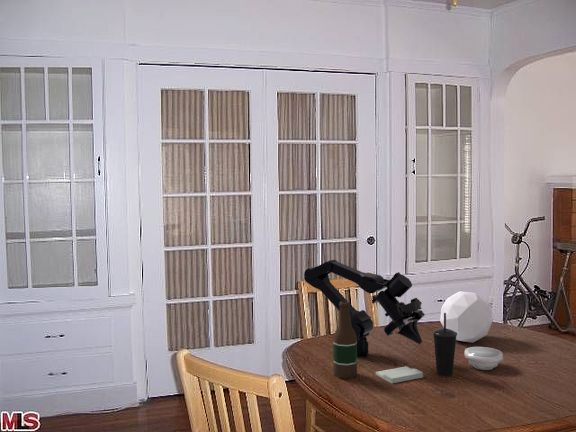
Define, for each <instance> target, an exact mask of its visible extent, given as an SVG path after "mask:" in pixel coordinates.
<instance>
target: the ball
mask: <svg viewBox="0 0 576 432" xmlns="http://www.w3.org/2000/svg"><path fill="white" fill-rule="evenodd" d="M444 313H446V328H447V329H451V330H453V331H455V332H457V336H456V341H460V342H466V343H475V342H477V341H478V340H480V339H482V338H484V337H486V336H487V335H488V333H489V331H490V329H491V326H492V323H493V320H494V318H493V311H492V309H491V307H490V303H488V302H487V301H486V300H485V299H484V298H482V297H481V296H480V295H479V294H478V293H477V292H471V291H462V290H460V291H457V292H456V293H453V295H450V296H448V297H447V298H446V299H445V301H444V303H443V304H442V306H441V310H440V320H439V321H440V323H441V325H442V328H444Z"/></svg>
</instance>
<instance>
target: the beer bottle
mask: <svg viewBox="0 0 576 432" xmlns="http://www.w3.org/2000/svg"><path fill="white" fill-rule="evenodd" d="M350 304H351V302H350V301H348V300H347V301H341V302H340V303H339V306H340V312H339V316H338V318H339V319H338V325H337V328H336V329H335V331H334V334H333V341H332V342H333V343H332V355H333V356H332V358H333V359H332V361H333V362H332V364H333V366H332V367H333V376H335V377H337V378H339V379H344V378H345V379H347V380H348V379H353V378H355V377H356V376H357V373H358V357H357V337H356V333H355V331H354V329H353V328H352V326H351V319H350ZM345 379H344V380H345Z"/></svg>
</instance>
